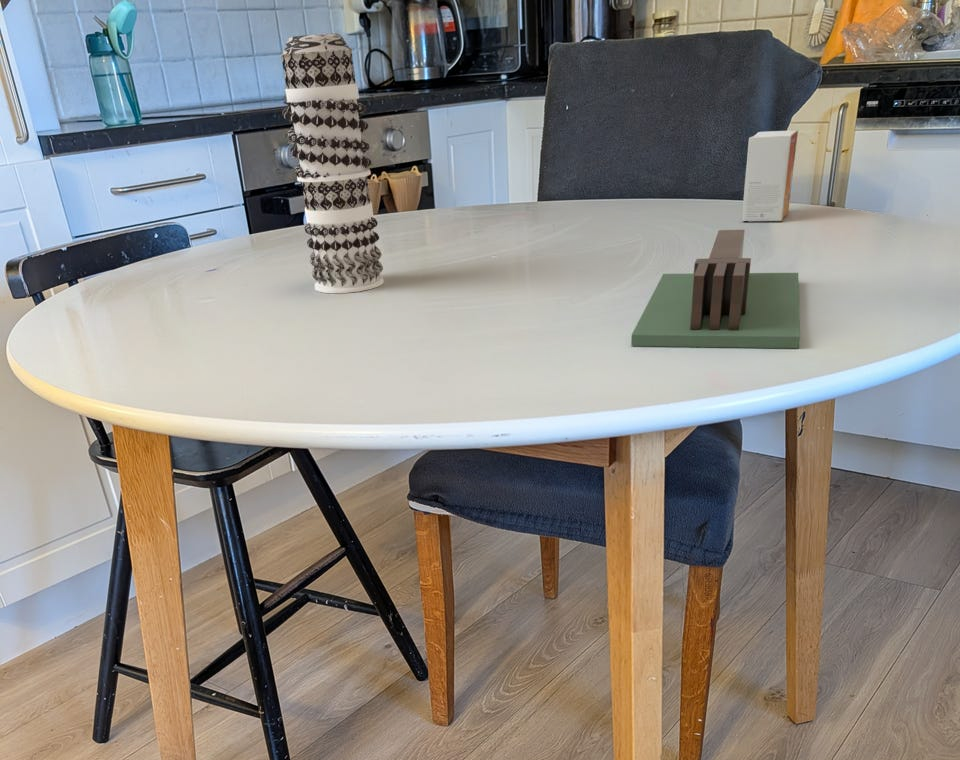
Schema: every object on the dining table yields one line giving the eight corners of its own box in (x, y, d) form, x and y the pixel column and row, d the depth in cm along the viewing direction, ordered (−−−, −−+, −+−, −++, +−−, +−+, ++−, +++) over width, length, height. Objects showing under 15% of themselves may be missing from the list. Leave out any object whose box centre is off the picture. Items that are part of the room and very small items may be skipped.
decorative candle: (304, 296, 102) (260, 38, 88) (318, 279, 110) (280, 39, 96) (381, 291, 101) (349, 31, 88) (390, 274, 109) (362, 32, 95)
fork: (704, 276, 93) (707, 230, 90) (751, 275, 92) (755, 229, 89) (685, 330, 76) (689, 275, 74) (742, 330, 75) (748, 275, 73)
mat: (798, 348, 73) (800, 336, 72) (631, 346, 77) (631, 334, 76) (797, 282, 92) (798, 272, 91) (662, 283, 96) (663, 273, 95)
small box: (781, 222, 121) (791, 135, 115) (740, 222, 123) (748, 137, 117) (789, 212, 127) (799, 129, 121) (749, 212, 129) (757, 131, 123)
